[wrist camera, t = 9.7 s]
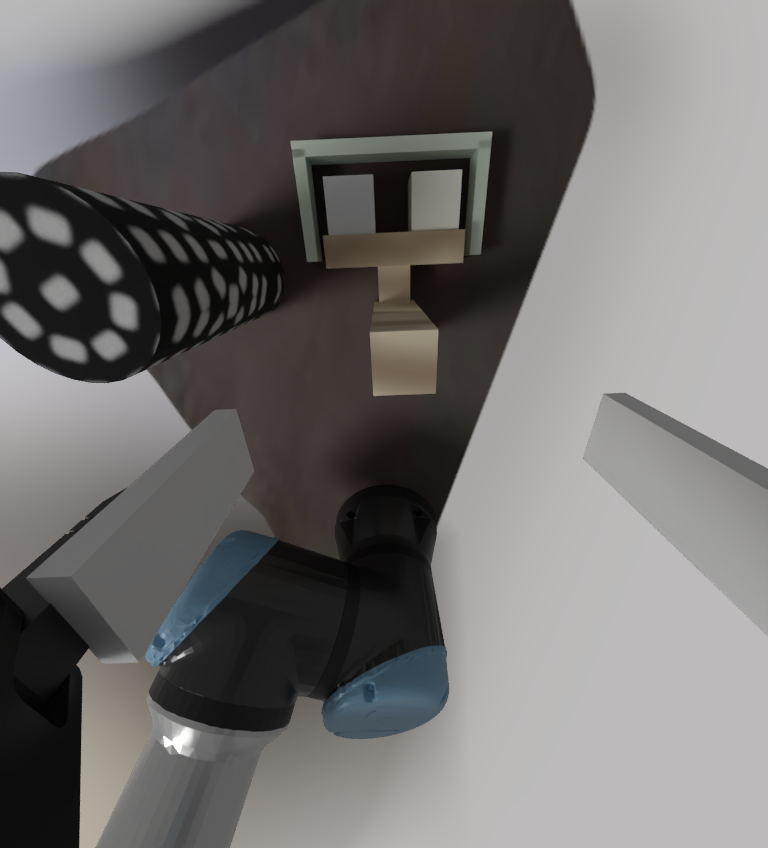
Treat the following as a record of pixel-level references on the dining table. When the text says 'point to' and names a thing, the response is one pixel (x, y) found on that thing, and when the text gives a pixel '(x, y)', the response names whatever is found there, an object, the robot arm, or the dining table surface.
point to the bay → (389, 151)
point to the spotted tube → (120, 279)
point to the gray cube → (350, 204)
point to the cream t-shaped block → (398, 302)
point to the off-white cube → (434, 200)
